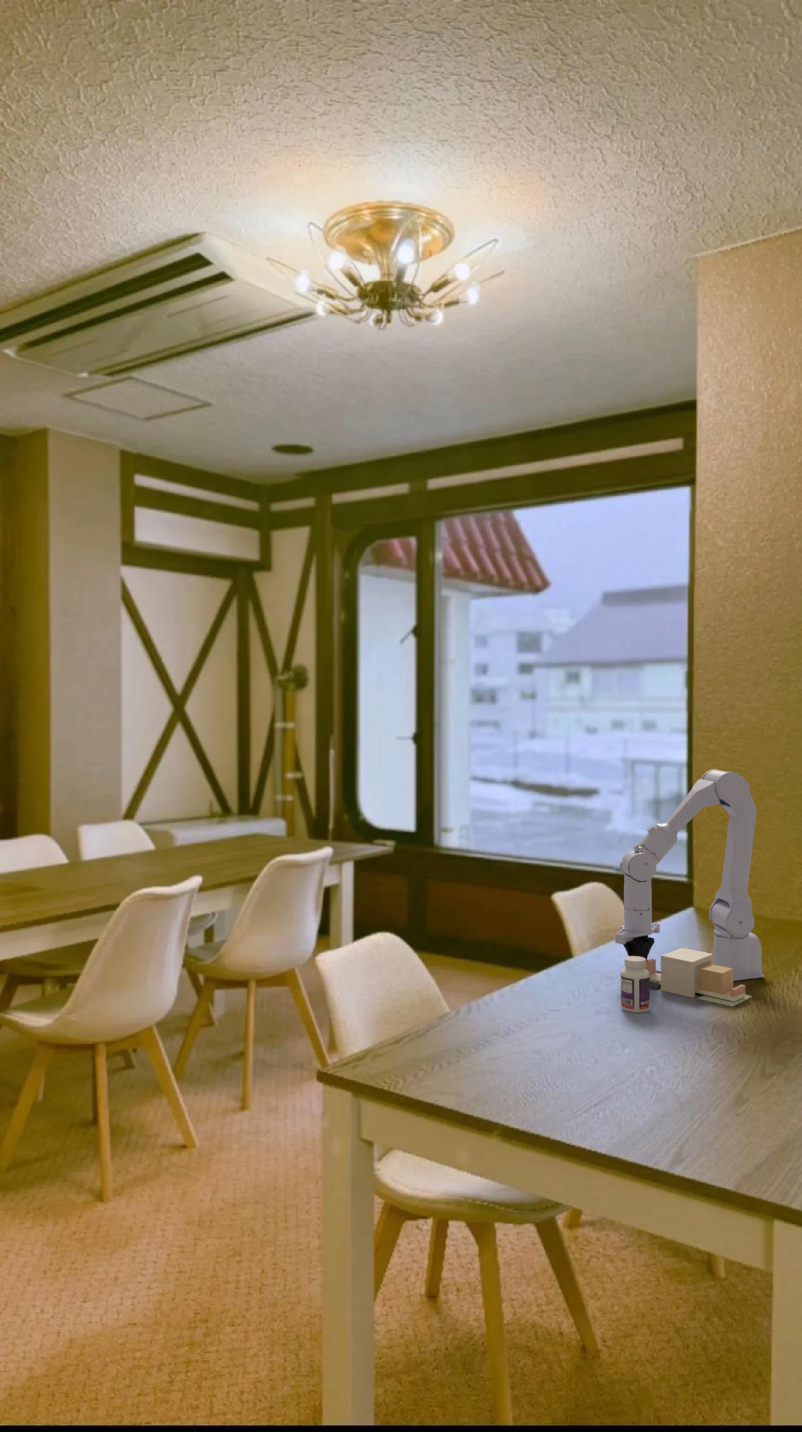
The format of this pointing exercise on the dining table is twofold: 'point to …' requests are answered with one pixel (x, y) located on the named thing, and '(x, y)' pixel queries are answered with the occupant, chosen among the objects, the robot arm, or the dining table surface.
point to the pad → (724, 1000)
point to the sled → (708, 981)
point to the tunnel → (682, 970)
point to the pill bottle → (635, 985)
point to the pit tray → (655, 983)
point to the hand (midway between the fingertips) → (638, 971)
